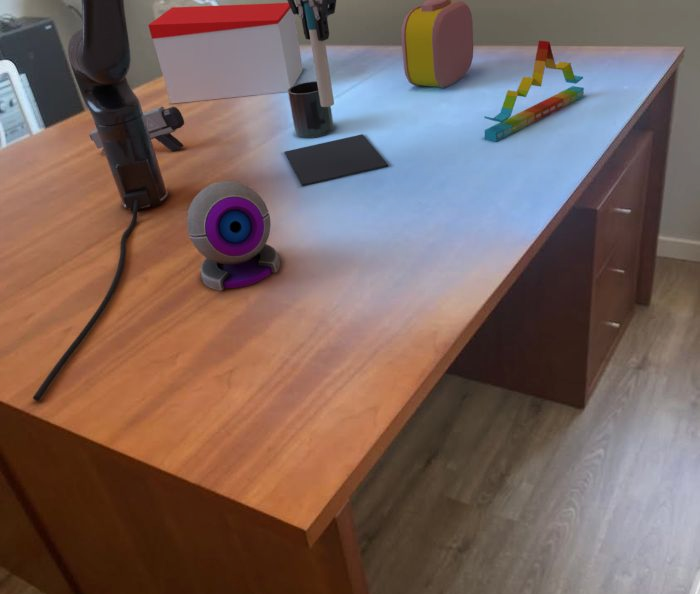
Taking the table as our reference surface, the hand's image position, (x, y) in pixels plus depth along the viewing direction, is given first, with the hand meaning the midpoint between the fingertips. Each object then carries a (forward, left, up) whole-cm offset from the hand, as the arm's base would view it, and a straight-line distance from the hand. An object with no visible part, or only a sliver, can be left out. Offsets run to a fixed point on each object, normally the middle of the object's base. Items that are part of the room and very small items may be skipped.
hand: (317, 38), depth 137 cm
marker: (0, 0, -13) cm, 13 cm away
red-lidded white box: (+73, +12, -25) cm, 78 cm away
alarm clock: (+38, -37, -25) cm, 59 cm away
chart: (0, -45, -25) cm, 51 cm away
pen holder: (+22, 0, -25) cm, 33 cm away
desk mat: (+2, 0, -25) cm, 25 cm away
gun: (+34, +40, -25) cm, 58 cm away
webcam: (-36, +25, -25) cm, 50 cm away
